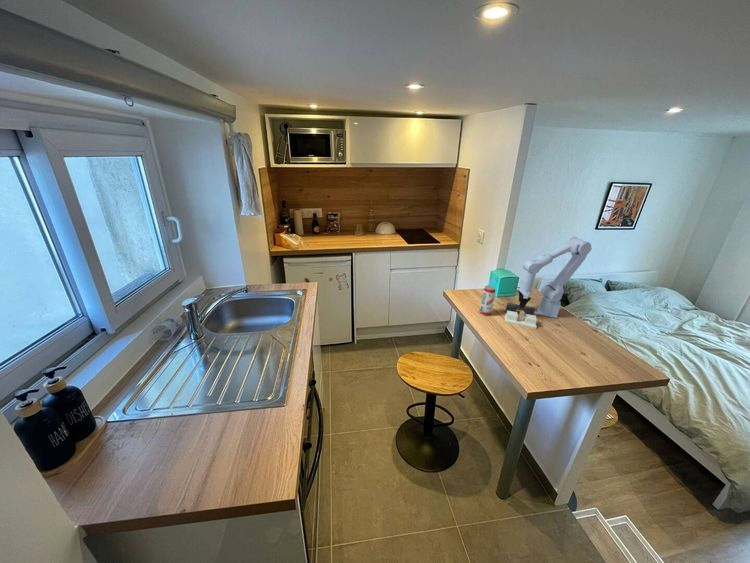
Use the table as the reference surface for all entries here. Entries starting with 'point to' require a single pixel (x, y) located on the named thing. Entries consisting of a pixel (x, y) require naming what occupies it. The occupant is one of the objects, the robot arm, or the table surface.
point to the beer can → (487, 300)
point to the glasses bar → (515, 306)
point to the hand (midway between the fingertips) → (521, 304)
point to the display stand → (521, 319)
